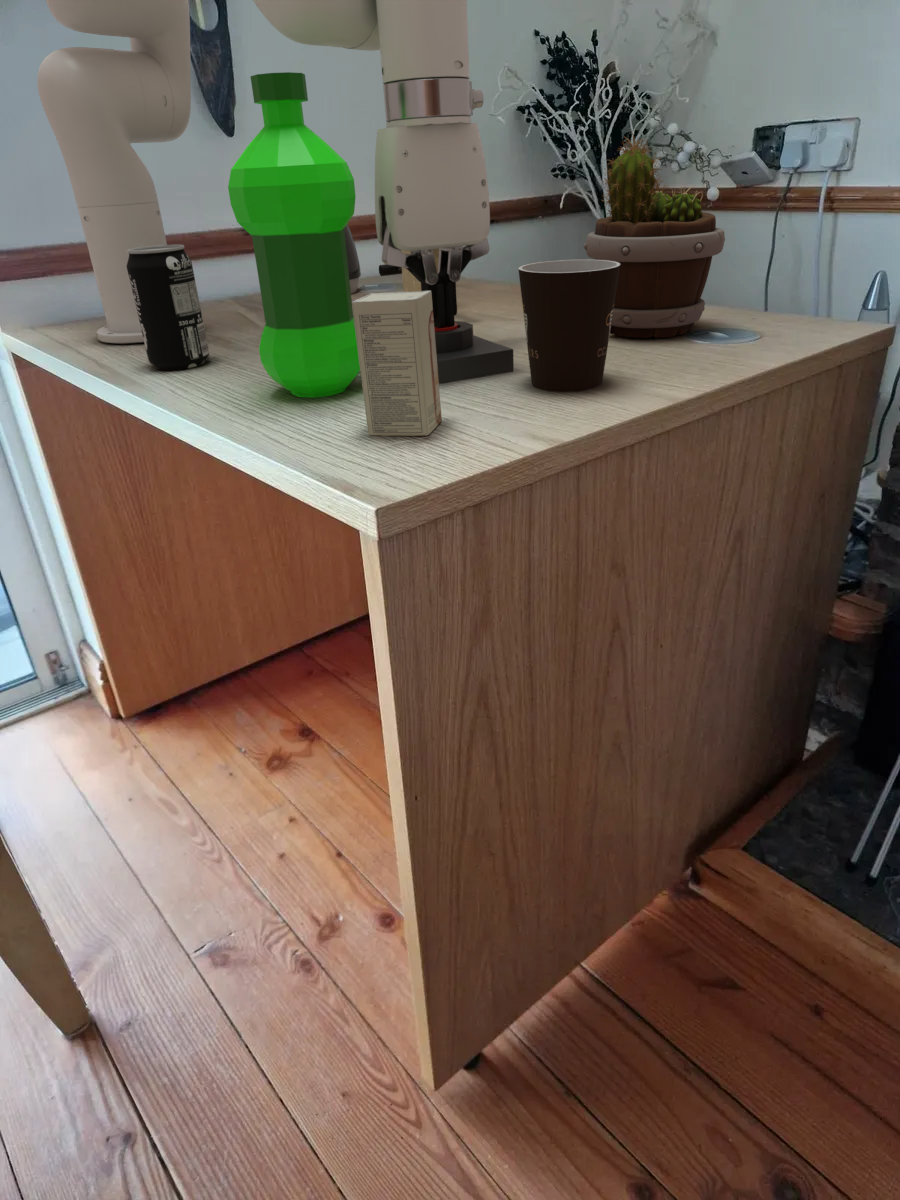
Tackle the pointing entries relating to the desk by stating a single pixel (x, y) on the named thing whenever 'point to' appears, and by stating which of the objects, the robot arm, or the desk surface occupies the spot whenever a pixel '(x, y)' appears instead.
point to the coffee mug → (568, 321)
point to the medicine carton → (398, 362)
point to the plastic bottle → (298, 242)
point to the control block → (469, 355)
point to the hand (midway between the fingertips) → (440, 324)
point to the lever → (389, 270)
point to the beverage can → (168, 306)
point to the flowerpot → (653, 249)
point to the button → (446, 328)
